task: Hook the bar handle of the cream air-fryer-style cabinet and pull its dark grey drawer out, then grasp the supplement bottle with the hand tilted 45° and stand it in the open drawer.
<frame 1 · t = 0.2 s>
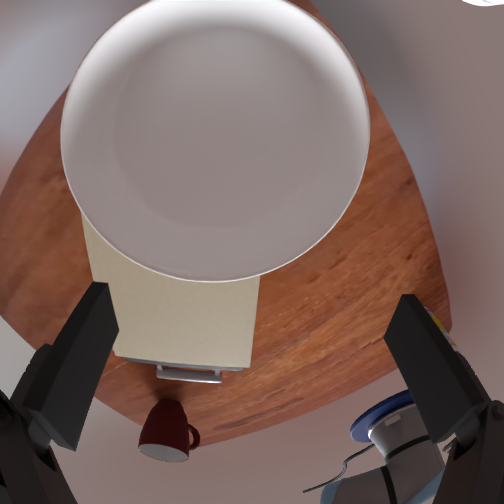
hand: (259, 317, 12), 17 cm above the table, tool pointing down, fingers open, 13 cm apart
water bottle: (245, 103, 23), on the table
dark grey drawer: (183, 315, 29), point 4 cm above the table, slide at 0.5 cm
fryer: (187, 250, 30), on the table
mug: (176, 406, 44), on the table
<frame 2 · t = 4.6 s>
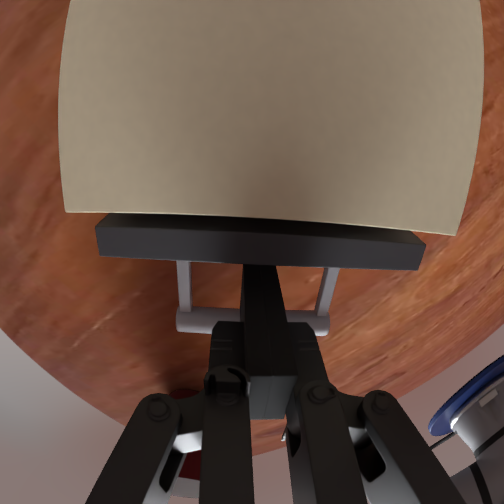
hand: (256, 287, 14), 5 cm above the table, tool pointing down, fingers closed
dark grey drawer: (271, 130, 11), point 4 cm above the table, slide at 0.8 cm
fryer: (271, 33, 12), on the table
mug: (200, 402, 26), on the table
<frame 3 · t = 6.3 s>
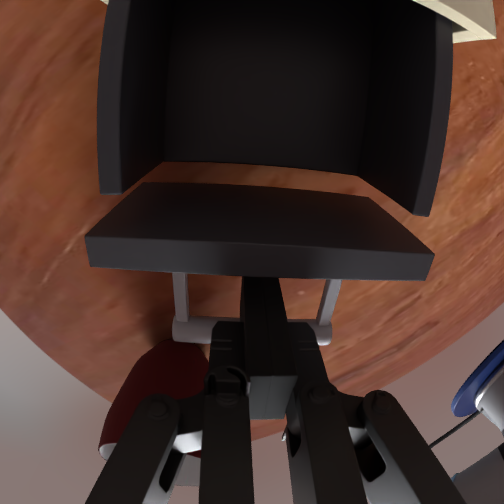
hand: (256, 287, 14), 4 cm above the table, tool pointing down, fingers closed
dark grey drawer: (272, 131, 10), point 4 cm above the table, slide at 8.6 cm, touching gripper
mug: (193, 359, 22), on the table
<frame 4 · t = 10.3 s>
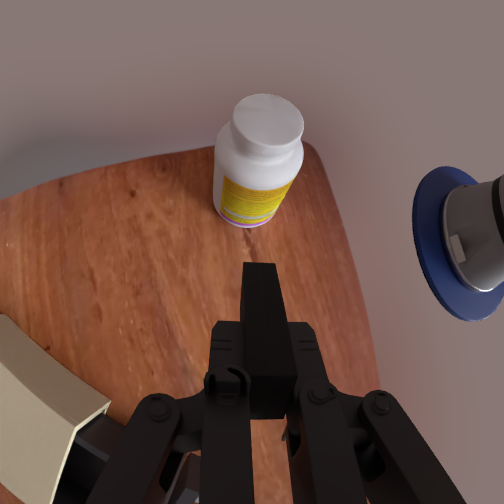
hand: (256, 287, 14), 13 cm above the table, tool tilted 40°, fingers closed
dark grey drawer: (130, 495, 17), point 4 cm above the table, slide at 8.9 cm
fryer: (34, 404, 21), on the table
supplement bottle: (245, 199, 29), on the table
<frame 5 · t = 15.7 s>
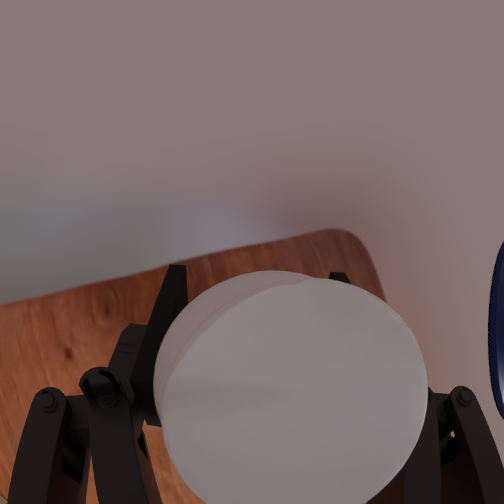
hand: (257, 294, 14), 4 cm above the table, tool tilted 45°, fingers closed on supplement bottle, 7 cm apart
supplement bottle: (249, 362, 16), on the table, touching gripper
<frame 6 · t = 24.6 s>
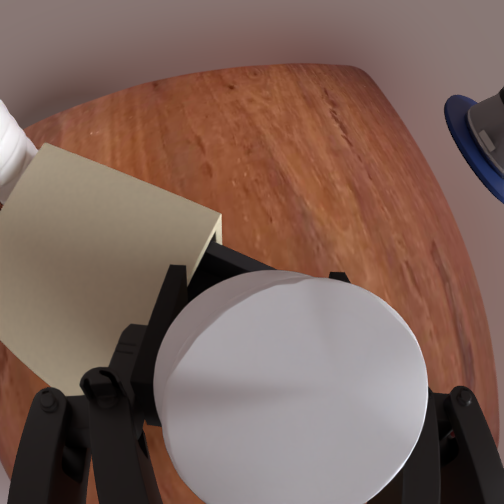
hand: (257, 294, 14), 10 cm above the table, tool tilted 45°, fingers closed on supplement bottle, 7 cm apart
water bottle: (36, 187, 25), on the table
dark grey drawer: (260, 366, 18), point 4 cm above the table, slide at 8.9 cm
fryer: (108, 288, 22), on the table
supplement bottle: (249, 362, 16), point 6 cm above the table, touching gripper
when the fingers open (10 cm above the table, at t = 25.8 s): supplement bottle drops 4 cm, resting on dark grey drawer.
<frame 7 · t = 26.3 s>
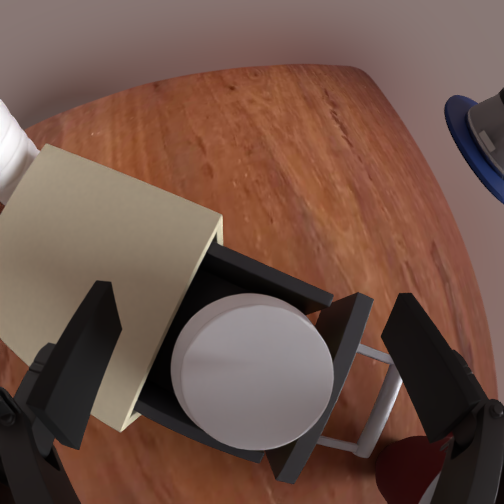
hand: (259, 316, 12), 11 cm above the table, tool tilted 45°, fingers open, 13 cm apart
water bottle: (37, 187, 25), on the table
dark grey drawer: (262, 366, 18), point 4 cm above the table, slide at 9.0 cm, touching supplement bottle
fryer: (109, 289, 23), on the table
mug: (401, 449, 20), on the table
supplement bottle: (241, 360, 20), point 2 cm above the table, touching dark grey drawer
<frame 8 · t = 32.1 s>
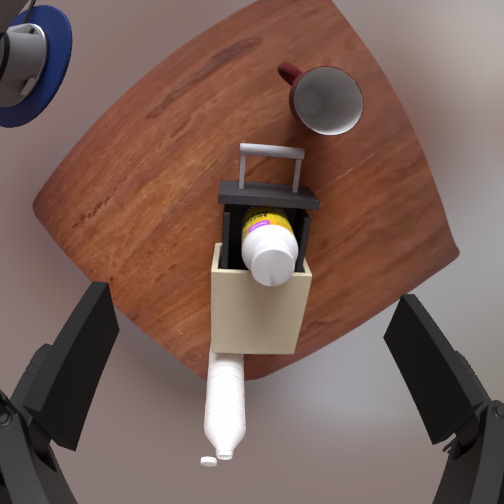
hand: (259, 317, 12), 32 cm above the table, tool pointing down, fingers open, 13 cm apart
water bottle: (223, 344, 56), on the table
dark grey drawer: (264, 219, 39), point 4 cm above the table, slide at 9.0 cm, touching supplement bottle
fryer: (254, 285, 50), on the table
mug: (301, 97, 36), on the table
supplement bottle: (264, 221, 42), point 2 cm above the table, touching dark grey drawer
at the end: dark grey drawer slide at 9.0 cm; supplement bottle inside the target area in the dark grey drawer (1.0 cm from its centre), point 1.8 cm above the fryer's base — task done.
